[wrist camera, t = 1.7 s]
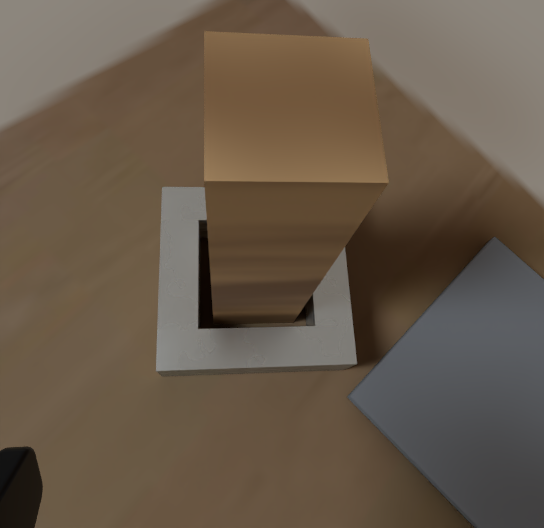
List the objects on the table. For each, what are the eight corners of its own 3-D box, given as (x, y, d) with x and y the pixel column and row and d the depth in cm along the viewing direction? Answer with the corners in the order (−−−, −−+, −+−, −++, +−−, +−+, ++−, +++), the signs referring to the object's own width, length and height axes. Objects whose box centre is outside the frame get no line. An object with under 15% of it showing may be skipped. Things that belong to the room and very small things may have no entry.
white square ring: (344, 369, 21) (357, 363, 19) (162, 376, 20) (156, 370, 18) (329, 207, 24) (338, 188, 22) (166, 207, 23) (162, 186, 21)
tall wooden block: (293, 322, 21) (388, 182, 9) (213, 324, 21) (204, 181, 9) (288, 249, 23) (368, 38, 10) (213, 249, 22) (204, 31, 10)
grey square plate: (671, 401, 22) (681, 400, 22) (547, 601, 19) (555, 606, 18) (489, 240, 24) (494, 236, 23) (346, 396, 21) (350, 396, 20)
